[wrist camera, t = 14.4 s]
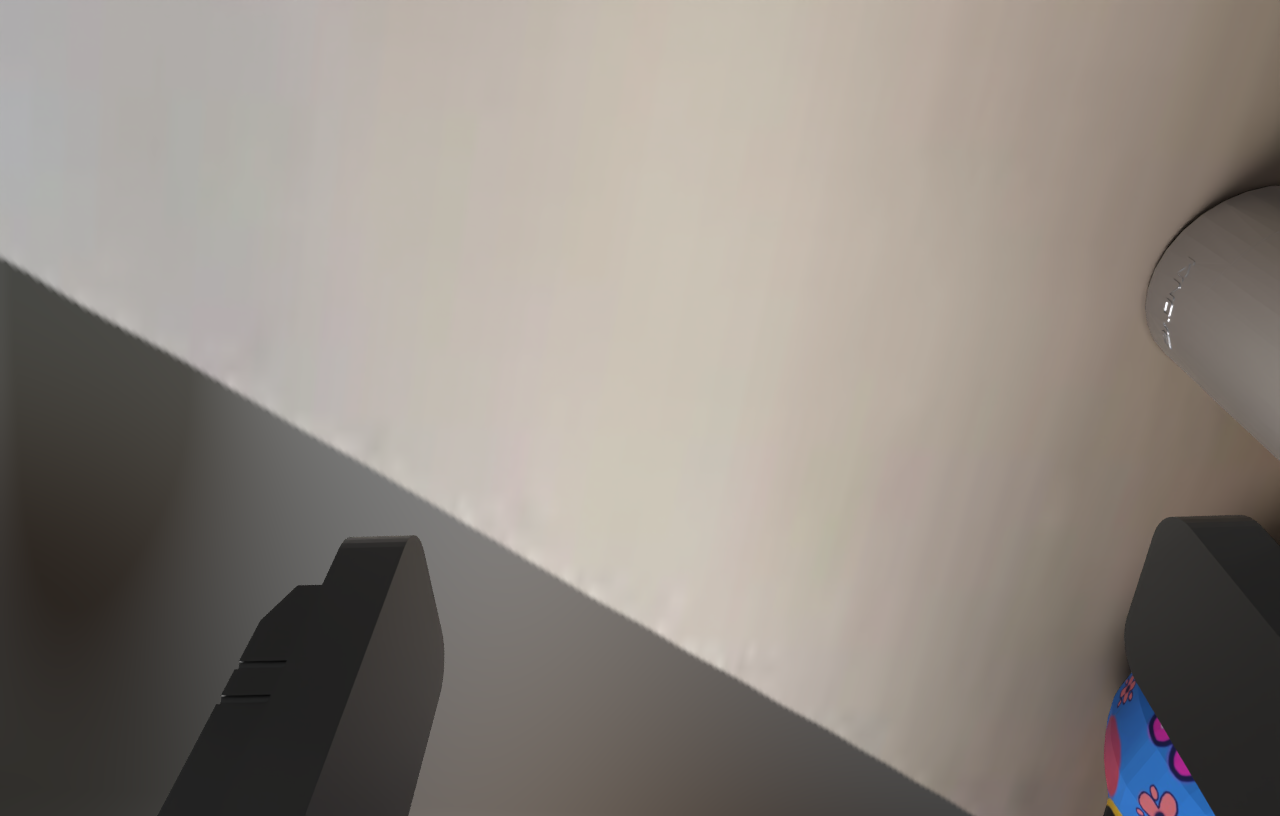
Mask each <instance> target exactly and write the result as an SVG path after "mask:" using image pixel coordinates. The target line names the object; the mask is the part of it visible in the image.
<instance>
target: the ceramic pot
mask: <svg viewBox="0 0 1280 816" xmlns="http://www.w3.org/2000/svg"><path fill="white" fill-rule="evenodd" d="M1104 762H1105V774H1106V781H1107V788H1108V801H1107V805H1106V809H1105V812H1104V815H1103V816H1215V815H1214V813H1213V811H1212V809H1211V808H1210V806H1209V804H1208V803H1207V801H1206V799H1205V798H1204V796H1203V794H1202V793H1201V791H1200V789H1199V787H1198V786H1197V784H1196V782H1195V781H1194V779H1193V777H1192V776H1191V774H1190V772H1189V771H1188V769H1187V767H1186V766H1185V764H1184V762H1183V760H1182V759H1181V757H1180V755H1179V754H1178V752H1177V750H1176V749H1175V747H1174V745H1173V744H1172V742H1171V740H1170V738H1169V737H1168V735H1167V733H1166V732H1165V730H1164V728H1163V727H1162V725H1161V723H1160V722H1159V720H1158V718H1157V716H1156V715H1155V713H1154V711H1153V710H1152V708H1151V706H1150V705H1149V703H1148V701H1147V700H1146V698H1145V696H1144V694H1143V693H1142V691H1141V689H1140V688H1139V686H1138V684H1137V683H1136V681H1135V679H1134V677H1133V675H1132V673H1131V674H1130V675H1129V677H1128V678H1127V679H1126V680H1125V682H1124V683H1123V684H1122V686H1121V687H1120V688H1119V690H1118V691H1117V693H1116V695H1115V696H1114V699H1113V703H1112V706H1111V709H1110V713H1109V716H1108V721H1107V728H1106V734H1105V746H1104Z"/></svg>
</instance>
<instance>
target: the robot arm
mask: <svg viewBox="0 0 1280 816" xmlns="http://www.w3.org/2000/svg"><path fill="white" fill-rule="evenodd" d="M1145 309H1146V318H1147V325H1148V327H1149V330H1150V332H1151V335H1152V337H1153V339H1154V341H1155V342H1156V343H1157V344H1158V346H1159V347H1160V348H1161V349H1162V351H1163V352H1164V353H1165V354H1166V355H1167V356H1168V357H1170V358H1171V359H1172V360H1173V361H1174V362H1175V363H1176V364H1177V365H1178V366H1179V367H1180V368H1181V369H1182V370H1183V371H1184V372H1186V373H1187V374H1188V375H1189V376H1190V377H1191V378H1192V379H1193V380H1194V381H1195V382H1196V383H1197V384H1198V385H1199V386H1200V387H1201V388H1203V390H1204V391H1205V392H1206V393H1207V394H1208V395H1209V396H1211V397H1212V398H1213V399H1214V400H1215V401H1216V402H1217V403H1218V404H1219V405H1220V406H1221V407H1222V408H1223V409H1224V410H1226V411H1227V412H1228V413H1229V414H1230V415H1231V416H1232V417H1233V418H1234V419H1235V420H1236V421H1237V422H1238V423H1239V424H1241V425H1242V426H1243V427H1244V428H1245V429H1246V430H1247V431H1248V432H1249V433H1250V434H1251V435H1252V436H1253V437H1254V438H1256V439H1257V440H1258V441H1259V442H1260V443H1261V444H1262V445H1263V446H1264V447H1265V448H1266V449H1267V450H1268V451H1269V452H1271V453H1272V454H1273V455H1274V456H1275V457H1276V458H1277V459H1278V460H1279V461H1280V186H1268V187H1264V188H1260V189H1256V190H1252V191H1247V192H1245V193H1242V194H1240V195H1237V196H1235V197H1233V198H1230V199H1228V200H1226V201H1223V202H1222V203H1220V204H1218V205H1217V206H1215V207H1214V208H1212V209H1210V210H1209V211H1207V212H1205V213H1204V214H1202V215H1201V216H1200V217H1198V218H1197V219H1196V220H1195V221H1194V222H1193V223H1191V224H1190V225H1189V226H1188V227H1187V228H1186V229H1184V230H1183V231H1182V232H1181V233H1180V235H1179V236H1178V237H1177V238H1176V239H1175V240H1174V242H1173V243H1172V244H1171V245H1170V246H1169V247H1168V249H1167V250H1166V252H1165V253H1164V255H1163V256H1162V258H1161V260H1160V261H1159V263H1158V265H1157V266H1156V268H1155V270H1154V273H1153V276H1152V279H1151V281H1150V284H1149V287H1148V291H1147V298H1146V306H1145ZM1124 640H1125V650H1126V656H1127V660H1128V664H1129V667H1130V670H1131V672H1132V675H1133V677H1134V679H1135V681H1136V683H1137V684H1138V686H1139V688H1140V689H1141V691H1142V693H1143V694H1144V696H1145V698H1146V700H1147V701H1148V703H1149V705H1150V706H1151V708H1152V710H1153V711H1154V713H1155V715H1156V716H1157V718H1158V720H1159V722H1160V723H1161V725H1162V727H1163V728H1164V730H1165V732H1166V733H1167V735H1168V737H1169V738H1170V740H1171V742H1172V744H1173V745H1174V747H1175V749H1176V750H1177V752H1178V754H1179V755H1180V757H1181V759H1182V760H1183V762H1184V764H1185V766H1186V767H1187V769H1188V771H1189V772H1190V774H1191V776H1192V777H1193V779H1194V781H1195V782H1196V784H1197V786H1198V787H1199V789H1200V791H1201V793H1202V794H1203V796H1204V798H1205V799H1206V801H1207V803H1208V804H1209V806H1210V808H1211V809H1212V811H1213V813H1214V815H1215V816H1280V546H1279V545H1278V544H1277V543H1276V542H1275V541H1274V539H1273V538H1272V537H1271V536H1270V535H1269V534H1268V533H1267V532H1266V531H1265V530H1264V529H1263V528H1262V526H1261V525H1259V524H1258V523H1257V522H1256V521H1255V520H1253V519H1252V518H1250V517H1247V516H1244V515H1225V516H1188V517H1169V518H1166V519H1164V520H1162V521H1161V523H1160V524H1159V525H1158V526H1157V528H1156V530H1155V532H1154V535H1153V538H1152V541H1151V544H1150V547H1149V550H1148V554H1147V557H1146V560H1145V563H1144V566H1143V569H1142V572H1141V575H1140V578H1139V582H1138V585H1137V588H1136V591H1135V594H1134V597H1133V600H1132V603H1131V606H1130V610H1129V613H1128V616H1127V619H1126V623H1125V633H1124ZM443 672H444V643H443V635H442V630H441V625H440V621H439V617H438V612H437V608H436V603H435V599H434V595H433V591H432V586H431V581H430V576H429V572H428V568H427V563H426V558H425V554H424V550H423V547H422V544H421V541H420V540H419V538H418V537H417V536H414V535H412V536H411V535H410V536H377V537H374V536H373V537H349V538H347V539H345V540H344V542H343V543H342V544H341V546H340V548H339V550H338V552H337V554H336V556H335V559H334V561H333V563H332V565H331V567H330V569H329V571H328V574H327V576H326V578H325V580H324V582H323V584H322V585H305V586H304V585H302V586H301V585H299V586H297V587H296V588H294V589H293V590H292V591H291V592H290V593H289V594H288V595H287V596H286V597H285V598H284V599H283V600H282V601H281V602H280V603H279V604H277V605H276V606H275V607H274V608H273V609H272V610H271V611H270V612H269V613H268V614H267V615H266V616H265V617H264V618H263V619H262V620H261V621H260V622H259V624H258V626H257V628H256V630H255V632H254V634H253V636H252V638H251V639H250V641H249V643H248V645H247V647H246V649H245V651H244V653H243V655H242V657H241V658H240V661H239V669H236V670H234V672H233V674H232V676H231V678H230V679H229V681H228V683H227V685H226V687H225V689H224V691H223V693H222V695H221V703H220V704H216V706H215V708H214V710H213V712H212V714H211V716H210V718H209V719H208V721H207V723H206V725H205V727H204V729H203V731H202V732H201V734H200V736H199V738H198V740H197V742H196V744H195V746H194V748H193V750H192V752H191V754H190V755H189V757H188V759H187V761H186V763H185V765H184V767H183V769H182V770H181V772H180V775H179V776H178V778H177V780H176V782H175V784H174V786H173V788H172V789H171V791H170V793H169V795H168V797H167V799H166V801H165V803H164V805H163V807H162V808H161V810H160V812H159V814H158V816H408V814H409V811H410V807H411V803H412V799H413V795H414V791H415V788H416V784H417V779H418V776H419V772H420V769H421V764H422V761H423V757H424V753H425V749H426V746H427V742H428V738H429V734H430V730H431V727H432V723H433V719H434V715H435V711H436V707H437V704H438V700H439V696H440V692H441V687H442V680H443Z"/></svg>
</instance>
